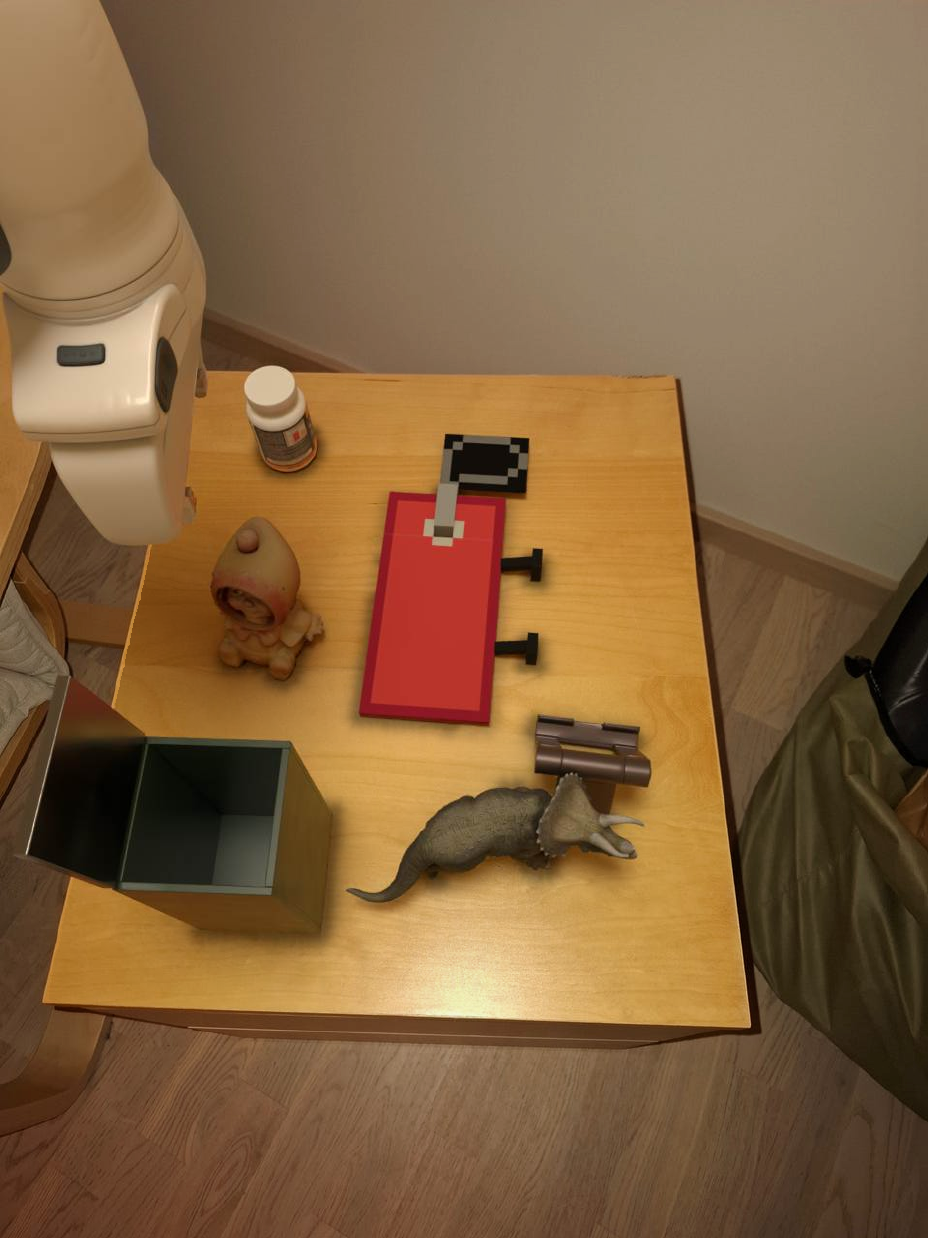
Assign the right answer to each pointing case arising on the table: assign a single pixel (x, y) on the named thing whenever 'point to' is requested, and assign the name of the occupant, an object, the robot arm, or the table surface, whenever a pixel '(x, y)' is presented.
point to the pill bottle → (279, 419)
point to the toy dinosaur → (507, 833)
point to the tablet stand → (591, 756)
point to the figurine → (261, 600)
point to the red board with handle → (446, 589)
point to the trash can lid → (80, 787)
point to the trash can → (227, 836)
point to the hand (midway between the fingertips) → (189, 449)
